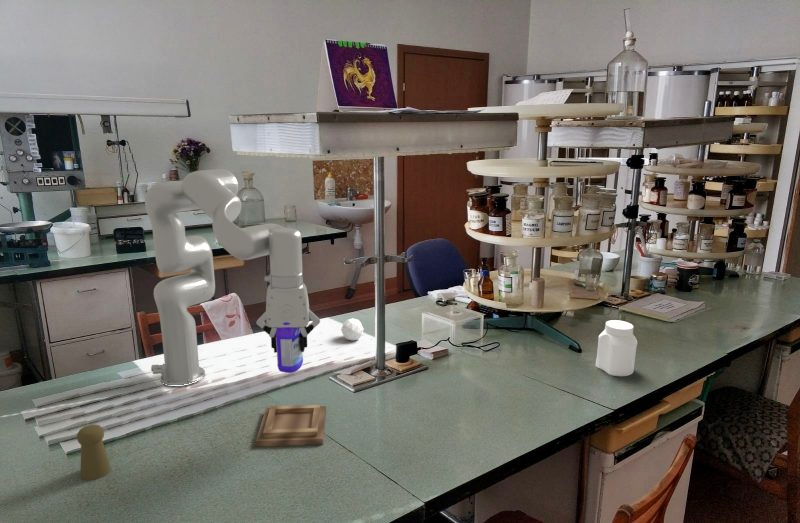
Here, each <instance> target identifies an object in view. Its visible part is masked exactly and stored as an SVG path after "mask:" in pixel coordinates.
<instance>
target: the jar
mask: <svg viewBox="0 0 800 523" xmlns="http://www.w3.org/2000/svg"><path fill="white" fill-rule="evenodd" d="M597 340H598V341H597V342H598V343H597V352H596V359H595V367H596V368H598V369H599V370H602V371H604V372H605V373H606V374H608V375H609V376H615V377H628V376H630V375H633V374H634V370H635V363H636V362H635V361H636V353H637V346H638V340H637V337H636V336H635V334H634V325H633V324H632V323H630V322H627V321H624V320H617V319H614V320H613V319H611V320H608V321H607V320H606V321H605V326H604V330H603V331H602V332H600V334H599V335H598V338H597Z"/></svg>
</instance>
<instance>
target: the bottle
mask: <svg viewBox="0 0 800 523" xmlns="http://www.w3.org/2000/svg"><path fill="white" fill-rule="evenodd" d="M283 324H284V325H289V324H290V323H288V322H285V323H283ZM301 334H302V333H301V331H300V329H299V328H287V327H285V328H277V329H276V346H277V352H276V358H277V360H276V362H277V368H278V371H280V372H281V373H286V374H288V373H289V374H293V373H296V372H297V371H299V369H300V368H301V367H302V366H303V363H304V354H303V353H304V352H301V340H300V338H301Z"/></svg>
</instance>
